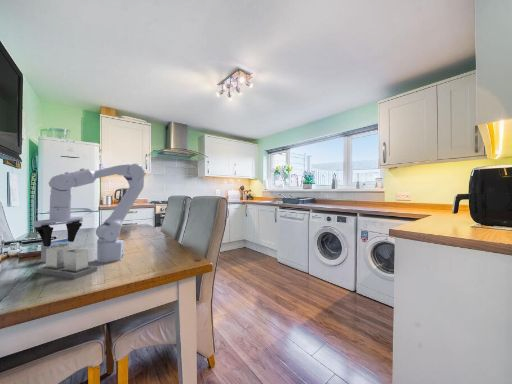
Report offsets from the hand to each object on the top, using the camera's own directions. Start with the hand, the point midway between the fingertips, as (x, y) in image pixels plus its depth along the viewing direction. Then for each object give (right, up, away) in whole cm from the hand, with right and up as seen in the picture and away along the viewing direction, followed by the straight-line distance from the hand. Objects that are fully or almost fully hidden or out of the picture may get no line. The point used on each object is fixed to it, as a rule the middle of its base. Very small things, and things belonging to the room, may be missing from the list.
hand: (59, 243), depth 78 cm
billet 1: (+1, -9, -1) cm, 10 cm away
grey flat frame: (+5, -10, -3) cm, 12 cm away
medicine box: (-15, -11, +14) cm, 23 cm away
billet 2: (+9, -10, -4) cm, 14 cm away
